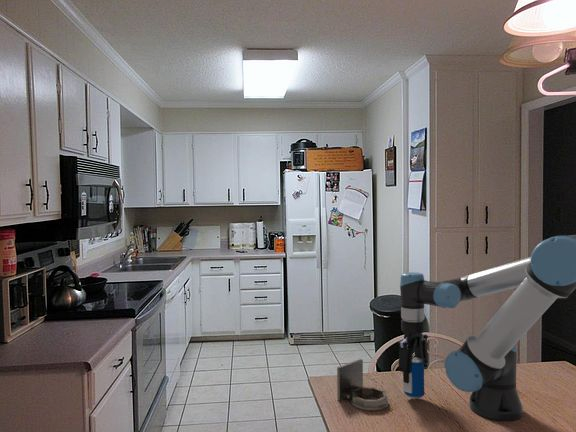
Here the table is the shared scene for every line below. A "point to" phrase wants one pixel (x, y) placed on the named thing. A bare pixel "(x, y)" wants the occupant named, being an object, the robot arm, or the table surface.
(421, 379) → the beverage can
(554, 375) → the table surface
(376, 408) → the cup bracket
